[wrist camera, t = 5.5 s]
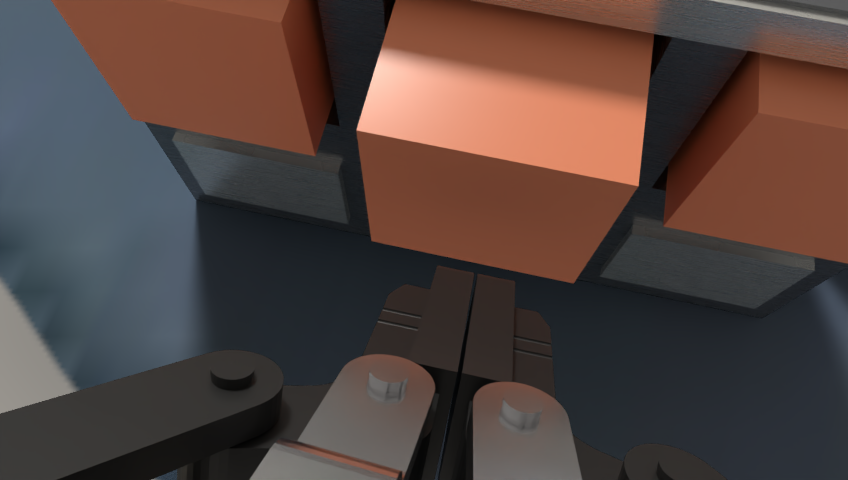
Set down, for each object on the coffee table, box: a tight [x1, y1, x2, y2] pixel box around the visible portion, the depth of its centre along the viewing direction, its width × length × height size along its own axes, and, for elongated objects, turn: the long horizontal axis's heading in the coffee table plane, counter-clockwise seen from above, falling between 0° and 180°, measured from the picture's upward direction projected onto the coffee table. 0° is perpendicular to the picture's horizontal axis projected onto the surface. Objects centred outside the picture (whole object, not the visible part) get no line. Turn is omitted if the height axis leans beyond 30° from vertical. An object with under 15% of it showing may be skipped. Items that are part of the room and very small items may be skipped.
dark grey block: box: [145, 0, 848, 318], centre depth 19 cm, size 21×6×14 cm, turn 78°
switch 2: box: [356, 0, 654, 284], centre depth 15 cm, size 5×5×5 cm
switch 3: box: [663, 51, 848, 264], centre depth 15 cm, size 5×5×5 cm
